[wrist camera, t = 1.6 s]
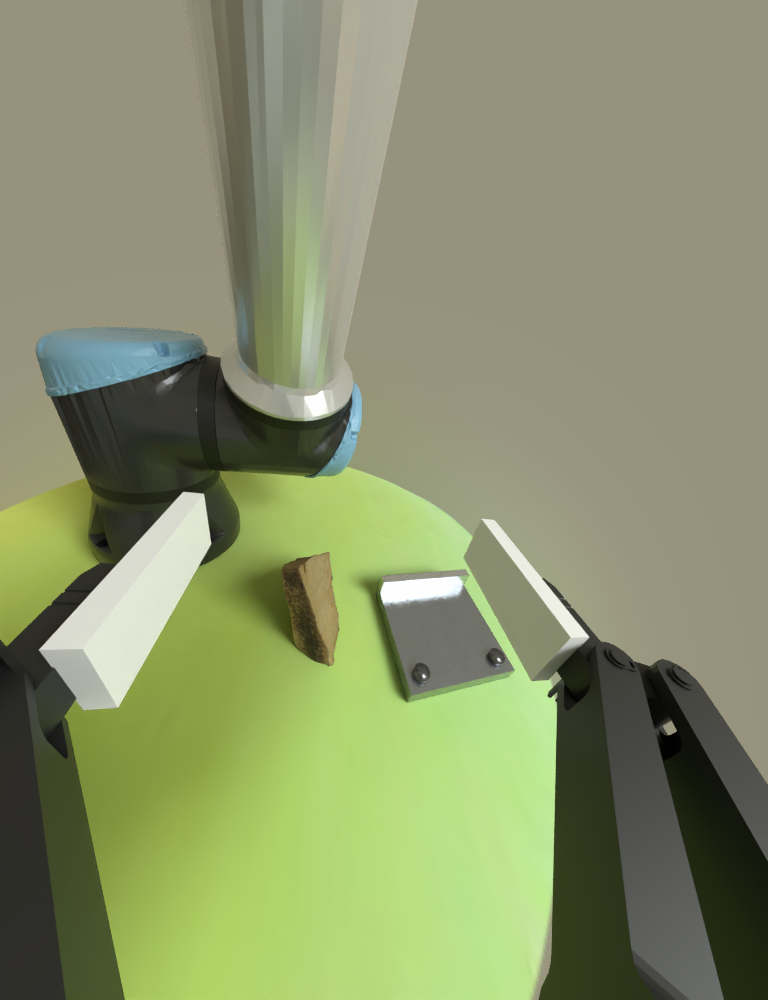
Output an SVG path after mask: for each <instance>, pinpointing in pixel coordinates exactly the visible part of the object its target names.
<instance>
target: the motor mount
mask: <svg viewBox="0 0 768 1000" xmlns="http://www.w3.org/2000/svg"><path fill="white" fill-rule="evenodd" d="M468 577H469V574H468V573H467V571H466V569H465V570H452V571H439V572H426V573H413V574H400V575H387V576H381V580H380V583H379V586H378V589H377V592H376V596H377V600H378V603H379V607H380V610H381V614H382V617H383V621H384V624H385V627H386V631H387V634H388V638H389V641H390V645H391V648H392V652H393V655H394V658H395V662H396V665H397V669H398V672H399V676H400V679H401V683H402V686H403V689H404V693H405V696H406V700H407V702H411V701H415V700H419V699H423V698H427V697H431V696H435V695H439V694H443V693H447V692H451V691H455V690H459V689H463V688H467V687H471V686H475V685H479V684H483V683H487V682H491V681H495V680H499V679H503V678H507V677H509V676H510V675H511V674H512V673H513V672H514V671H515V670H514V668H513V666H512V665H511V663H510V662H509V660H508V658H507V657H506V655H505V653H504V652H503V650H502V648H501V647H500V645H499V643H498V642H497V640H496V638H495V637H494V635H493V633H492V632H491V630H490V628H489V627H488V625H487V623H486V622H485V620H484V618H483V617H482V615H481V613H480V612H479V610H478V608H477V607H476V605H475V603H474V602H473V600H472V598H471V597H470V595H469V593H468V592H467V590H466V588H465V587H464V584H465V582H466V580H467V578H468Z"/></svg>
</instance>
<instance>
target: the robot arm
mask: <svg viewBox="0 0 768 1000" xmlns="http://www.w3.org/2000/svg"><path fill="white" fill-rule="evenodd" d="M183 1H184V7H185V14H186V20H187V27H188V33H189V39H190V46H191V52H192V59H193V65H194V72H195V78H196V84H197V90H198V97H199V103H200V109H201V117H202V123H203V129H204V135H205V142H206V148H207V155H208V161H209V167H210V174H211V181H212V187H213V193H214V199H215V206H216V213H217V219H218V225H219V232H220V238H221V245H222V251H223V257H224V264H225V270H226V277H227V283H228V290H229V296H230V302H231V308H232V315H233V321H234V328H235V334H236V337H234V338H233V339H232V340H231V341H229V343H228V344H227V345H226V347H225V348H224V350H223V352H222V356H221V358H219V357H213V356H209V355H207V354H206V353H207V347H206V346H205V345H204V342H203V340H202V339H201V338H200V337H199V336H197V335H194V334H188V333H183V332H180V331H171V330H162V329H148V328H123V327H121V328H119V327H101V328H100V327H98V328H97V327H93V328H73V329H64V330H58V331H53V332H50V333H48V334H45V335H44V336H42V337H41V338H40V339H39V340H38V342H37V344H36V355H37V359H38V362H39V365H40V368H41V371H42V375H43V378H44V381H45V385H46V393H47V395H48V396H51V398H52V401H53V403H54V405H55V407H56V410H57V412H58V414H59V417H60V419H61V421H62V423H63V426H64V428H65V430H66V433H67V435H68V437H69V439H70V442H71V444H72V446H73V448H74V451H75V453H76V455H77V458H78V460H79V462H80V465H81V467H82V469H83V472H84V474H85V476H86V478H87V480H88V483H89V485H90V488H91V490H92V503H91V512H90V522H89V531H88V537H89V543H90V545H91V547H92V549H93V551H94V553H95V556H96V557H97V559H98V561H99V562H100V564H98V565H96V566H95V567H93V568H91V569H90V570H88V571H86V572H84V573H83V574H81V575H80V576H79V577H78V578H77V579H76V580H74V581H73V582H72V583H71V584H70V585H69V586H68V587H67V588H66V589H65V592H64V593H61V594H60V595H59V596H58V597H57V598H56V599H55V600H54V601H53V602H52V605H51V606H48V607H47V608H46V609H45V610H44V611H43V612H42V613H41V614H40V615H39V616H38V617H37V618H36V619H35V620H34V621H33V622H32V623H31V624H30V625H28V626H27V627H26V628H25V629H24V630H23V631H22V632H21V633H20V634H19V635H18V636H17V637H16V638H15V639H14V640H13V641H12V642H11V643H10V644H9V645H8V646H7V647H6V646H5V645H4V644H3V642H2V641H1V640H0V1000H125V999H124V994H123V989H122V984H121V979H120V974H119V970H118V965H117V960H116V955H115V950H114V945H113V940H112V936H111V931H110V926H109V921H108V916H107V911H106V906H105V902H104V897H103V892H102V887H101V882H100V877H99V872H98V868H97V863H96V858H95V853H94V848H93V843H92V838H91V834H90V829H89V824H88V819H87V814H86V809H85V804H84V800H83V795H82V790H81V785H80V780H79V775H78V770H77V766H76V761H75V756H74V751H73V746H72V741H71V736H70V732H69V727H68V722H67V720H66V719H65V717H64V716H65V714H66V713H67V711H68V710H69V708H70V707H71V706H72V704H73V703H74V701H75V700H76V701H77V702H78V704H79V705H80V706H81V708H82V709H83V710H92V709H108V708H118V707H119V705H120V704H121V702H122V700H123V698H124V697H125V695H126V693H127V691H128V689H129V688H130V686H131V684H132V682H133V681H134V679H135V677H136V675H137V674H138V672H139V670H140V668H141V667H142V665H143V663H144V661H145V660H146V658H147V656H148V654H149V653H150V651H151V649H152V647H153V645H154V644H155V642H156V640H157V638H158V637H159V635H160V633H161V631H162V630H163V628H164V626H165V624H166V623H167V621H168V619H169V617H170V616H171V614H172V612H173V610H174V609H175V607H176V605H177V603H178V602H179V600H180V598H181V596H182V594H183V593H184V591H185V589H186V587H187V586H188V584H189V582H190V580H191V579H192V577H193V575H194V573H195V572H196V570H197V568H198V566H201V565H203V564H205V563H207V562H209V561H211V560H213V559H215V558H216V557H218V556H219V555H221V554H222V553H223V552H225V551H226V550H227V549H228V548H229V547H230V546H231V545H232V544H233V543H234V541H235V540H236V538H237V536H238V534H239V531H240V517H239V511H238V508H237V505H236V503H235V502H234V500H233V498H232V496H231V495H230V493H229V491H228V489H227V488H226V486H225V484H224V482H223V481H222V479H221V477H220V471H233V472H250V473H267V474H282V475H295V476H304V477H309V478H314V477H317V476H335V475H337V474H339V473H341V472H342V471H343V470H344V469H345V468H346V466H347V465H348V463H349V461H350V460H351V458H352V456H353V453H354V450H355V447H356V444H357V434H358V432H359V431H360V425H361V417H362V399H361V393H360V390H359V388H358V386H357V385H356V384H355V383H354V382H353V376H352V373H351V370H350V368H349V366H348V364H347V363H346V361H345V360H344V358H343V356H344V351H345V346H346V341H347V337H348V332H349V326H350V322H351V317H352V312H353V308H354V302H355V298H356V293H357V289H358V284H359V279H360V274H361V270H362V264H363V260H364V255H365V250H366V245H367V241H368V236H369V231H370V226H371V222H372V216H373V212H374V207H375V203H376V198H377V193H378V188H379V183H380V179H381V174H382V169H383V164H384V159H385V154H386V150H387V145H388V140H389V136H390V131H391V126H392V121H393V117H394V111H395V107H396V102H397V97H398V93H399V88H400V83H401V78H402V73H403V69H404V64H405V59H406V54H407V50H408V44H409V40H410V35H411V30H412V26H413V21H414V16H415V11H416V6H417V2H418V0H183ZM464 559H465V561H466V563H467V565H468V566H469V568H470V570H471V572H472V574H473V576H474V577H475V579H476V581H477V583H478V585H479V586H480V588H481V590H482V592H483V594H484V596H485V597H486V599H487V601H488V603H489V605H490V606H491V608H492V610H493V612H494V614H495V616H496V617H497V619H498V621H499V623H500V625H501V626H502V628H503V630H504V632H505V634H506V636H507V637H508V639H509V641H510V643H511V645H512V647H513V648H514V650H515V652H516V654H517V656H518V657H519V659H520V661H521V663H522V665H523V667H524V668H525V670H526V672H527V674H528V676H529V677H530V679H531V681H539V680H549V679H550V678H551V677H552V676H553V675H554V673H555V672H556V671H557V672H558V674H559V675H560V677H561V678H562V679H561V680H560V681H559V682H558V683H557V684H556V685H555V686H554V687H553V688H552V689H551V690H550V691H549V693H548V697H550V698H551V697H552V696H553V695H554V694H555V693H556V692H558V695H557V699H556V700H555V701H556V702H557V739H556V783H555V826H554V870H553V914H552V954H551V964H550V969H549V973H548V975H547V977H546V979H545V981H544V983H543V986H542V988H541V992H540V996H539V1000H768V784H767V783H766V781H765V780H764V779H763V777H762V776H761V774H760V773H759V771H758V769H757V768H756V767H755V765H754V764H753V762H752V761H751V759H750V758H749V756H748V755H747V753H746V752H745V750H744V749H743V747H742V746H741V744H740V743H739V742H738V740H737V738H736V737H735V735H734V734H733V732H732V731H731V729H730V728H729V726H728V725H727V723H726V722H725V720H724V719H723V717H722V716H721V715H720V713H719V712H718V710H717V709H716V707H715V706H714V704H713V703H712V701H711V700H710V698H709V697H708V695H707V694H706V692H705V691H704V689H703V688H702V686H700V684H699V683H698V682H697V680H696V679H695V678H693V676H691V675H690V674H689V673H688V672H687V671H686V670H684V669H683V668H682V667H680V666H678V665H677V664H674V663H672V662H670V661H667V660H663V659H661V660H658V661H657V662H655V663H654V664H653V665H652V666H647V665H644V664H641V663H637V662H634V661H633V660H632V659H631V658H630V657H629V656H628V655H627V654H626V653H624V651H622V650H621V649H619V648H618V647H616V646H615V645H612V644H610V643H607V642H601V641H600V640H599V639H598V638H597V637H596V635H595V634H594V633H593V632H592V631H591V629H590V628H589V627H588V626H587V625H586V623H585V622H584V621H583V620H582V619H581V617H580V616H579V615H578V614H577V613H576V611H575V610H574V609H573V608H571V605H570V604H569V603H568V602H567V601H566V600H564V597H563V596H562V595H561V594H560V592H559V591H558V590H557V589H556V588H555V587H554V586H553V585H552V584H551V583H549V582H548V581H546V580H545V579H544V578H541V577H540V576H539V574H538V573H537V572H536V571H535V570H534V568H533V567H532V566H531V565H530V563H529V562H528V561H527V560H526V559H525V557H524V556H523V555H522V554H521V552H520V551H519V550H518V549H517V547H516V546H515V545H514V544H513V542H512V541H511V540H510V539H509V538H508V536H507V535H506V534H505V533H504V532H503V530H502V529H501V528H500V527H499V525H498V524H497V523H496V522H495V520H488V519H481V521H480V523H479V526H478V528H477V530H476V532H475V534H474V536H473V538H472V540H471V543H470V545H469V547H468V549H467V551H466V553H465V555H464ZM671 720H672V722H673V724H674V726H675V728H676V729H677V732H675V733H673V734H672V735H667V733H666V731H665V730H664V728H663V725H664V724H666V723H668V722H670V721H671Z"/></svg>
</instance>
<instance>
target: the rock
mask: <svg viewBox="0 0 768 1000" xmlns="http://www.w3.org/2000/svg"><path fill="white" fill-rule="evenodd" d="M329 557H330V554H329V552H327V553H323V554H320V555H314V556H311V557H304V558H298V559H296V561H292V562H290V563H288V564H285V565H284V566H283V568H282V570H281V575H282V580H283V587H284V593H285V597H286V600H287V604H288V607H289V611H290V614H291V625H292V634H293V638H294V643H295V645H296V647H298V648H299V649H300V650H301V651H302V652H303V653H304V654H306V655H307V656H309V657H310V658H311V659H312V660H314V661H317V662H319V663H324V664H327V665H329V666H331V665H332V664H333V663H334V657H333V654H334V650H335V643H336V640H337V635H338V631H339V624H338V612H337V607H336V605H335V598H334V592H333V587H332V579H333V576H332V573H331V566H330V559H329Z"/></svg>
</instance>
